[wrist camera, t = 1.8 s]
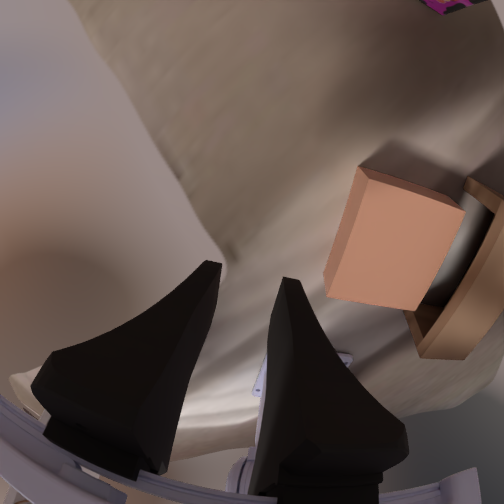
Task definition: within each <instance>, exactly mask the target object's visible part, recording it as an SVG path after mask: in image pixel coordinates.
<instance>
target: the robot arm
mask: <svg viewBox="0 0 504 504" xmlns="http://www.w3.org/2000/svg"><path fill="white" fill-rule="evenodd" d="M221 269H222V263H217V262H213V261H208V260H206V261H204V262H203V263H202V264H201V265H200V266H199V267H198V268H197V269H196V270H195V271H194V272H193V273H192V274H191V275H190V276H189V277H188V278H187V279H185V280H184V281H183V282H182V283H181V284H180V285H179V286H177V287H176V288H175V289H174V290H173V291H172V292H170V293H169V294H168V295H166V296H165V297H164V298H163V299H161V300H160V301H159V302H157V303H156V304H155V305H153V306H152V307H150V308H149V309H147V310H146V311H145V312H143V313H142V314H140V315H138V316H137V317H135V318H133V319H132V320H130V321H128V322H126V323H124V324H123V325H121V326H119V327H117V328H115V329H113V330H111V331H109V332H107V333H104V334H102V335H100V336H98V337H95V338H93V339H91V340H88V341H86V342H83V343H80V344H77V345H74V346H70V347H67V348H64V349H61V350H57V351H53V352H52V353H51V355H50V356H49V357H48V358H47V360H46V361H45V363H44V364H43V366H42V367H41V369H40V371H39V372H38V374H37V376H36V377H35V379H34V381H33V382H32V384H31V390H32V393H33V394H34V396H35V397H36V399H37V400H38V401H39V402H40V404H41V405H42V406H43V407H44V408H45V409H46V411H47V412H48V413H49V414H50V415H51V418H50V420H49V422H48V424H47V426H46V425H44V424H43V423H41V422H40V421H38V420H36V419H35V418H33V417H32V416H30V415H29V414H27V413H26V412H24V411H23V410H21V409H20V408H18V407H17V406H16V405H14V404H13V403H11V402H10V401H8V400H7V399H6V398H5V397H3V396H2V395H1V394H0V476H1V477H2V478H3V479H4V480H5V481H6V482H7V483H8V484H9V485H11V486H12V487H13V488H14V489H15V490H16V491H17V492H19V493H20V494H21V495H22V496H24V497H25V498H26V499H27V500H29V501H30V502H31V503H32V504H125V502H126V499H127V494H125V493H123V492H121V491H119V490H117V489H115V488H114V487H112V486H111V485H110V484H108V483H105V482H104V481H101V480H99V479H97V478H95V477H93V476H91V475H89V474H88V473H86V472H84V471H82V468H81V466H82V467H84V468H86V469H89V470H91V471H93V472H95V473H97V474H99V475H102V476H104V477H106V478H108V479H111V480H113V481H116V482H118V483H121V484H123V485H126V486H128V487H131V488H134V489H136V490H139V491H142V492H145V493H148V494H151V495H154V496H158V497H161V498H165V499H168V500H171V501H175V502H179V503H183V504H481V495H480V487H479V481H478V475H477V469H476V467H474V468H471V469H468V470H465V471H462V472H459V473H456V474H454V475H451V476H449V477H447V478H445V479H443V480H441V481H440V482H437V483H433V484H429V485H425V486H421V487H417V488H412V489H407V490H402V491H396V492H390V493H383V494H379V489H378V484H379V483H382V481H383V472H384V471H386V470H387V469H389V468H391V467H393V466H395V465H397V464H399V463H400V462H401V461H403V460H404V459H405V458H406V457H407V456H408V454H409V446H408V439H407V433H406V429H405V425H404V424H403V423H402V422H401V421H400V420H398V419H397V418H396V417H395V416H394V415H393V414H391V413H390V412H389V411H388V410H387V409H385V408H384V407H383V406H382V405H381V404H380V403H379V402H378V401H377V400H376V399H375V398H374V397H373V396H372V395H371V394H370V393H369V392H368V391H367V390H366V389H365V388H364V387H363V386H362V385H361V383H360V382H359V381H358V380H357V379H356V377H355V376H354V375H353V374H352V373H351V372H350V370H349V369H348V366H349V365H350V364H351V362H352V361H353V356H352V355H350V354H343V353H336V351H335V349H334V348H333V346H332V345H331V343H330V341H329V340H328V338H327V336H326V335H325V333H324V331H323V329H322V327H321V326H320V324H319V322H318V320H317V318H316V316H315V314H314V312H313V310H312V307H311V305H310V303H309V301H308V299H307V296H306V294H305V292H304V289H303V287H302V284H301V282H300V281H299V280H297V279H292V278H287V277H283V279H282V282H281V285H280V288H279V292H278V295H277V298H276V301H275V304H274V308H273V311H272V314H271V318H270V325H269V332H268V341H267V353H266V356H265V358H264V361H263V364H262V367H261V369H260V372H259V374H258V377H257V380H256V382H255V385H254V388H253V390H252V395H253V396H256V397H260V405H259V413H258V421H257V429H256V436H255V444H256V446H255V447H249V451H248V456H243V457H241V458H239V460H238V461H237V462H236V463H235V464H233V466H232V468H231V469H230V472H229V474H228V478H227V482H226V490H225V491H220V490H215V489H210V488H205V487H200V486H196V485H192V484H187V483H183V482H180V481H175V480H172V479H168V478H165V477H162V476H160V475H162V474H164V473H166V472H167V470H168V465H169V460H170V455H171V451H172V446H173V442H174V438H175V434H176V429H177V425H178V421H179V417H180V413H181V409H182V406H183V402H184V398H185V394H186V391H187V387H188V383H189V380H190V377H191V374H192V372H193V369H194V367H195V364H196V362H197V359H198V357H199V354H200V352H201V349H202V347H203V344H204V342H205V339H206V337H207V334H208V332H209V329H210V326H211V323H212V319H213V316H214V312H215V308H216V304H217V298H218V290H219V283H220V276H221Z"/></svg>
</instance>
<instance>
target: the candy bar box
mask: <svg viewBox="0 0 504 504" xmlns="http://www.w3.org/2000/svg"><path fill="white" fill-rule="evenodd" d="M419 1H421V2H423V3H424V4H426V5H428V6H429V7H431V8H432V9H434V10H435V11H437V12H438V13H440V14H441V15H446V14H448V13H451V12H454V11H457V10H460V9H462V8H465V7H468V6H471V5H474V4H477V3H480V2H483V1H487V0H419Z"/></svg>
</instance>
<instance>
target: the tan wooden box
mask: <svg viewBox="0 0 504 504" xmlns="http://www.w3.org/2000/svg"><path fill="white" fill-rule="evenodd" d="M463 189H464V190H465V191H466V192H468V193H469V194H470V195H472V196H473V197H474V198H476V199H477V200H478V201H480V202H481V203H482V204H483V205H485V206H486V207H487V208H488V209H490V210H491V211H492V212H493V213H494V216H493V219H492V221H491V223H490V225H489V228H488V230H487V232H486V234H485V236H484V238H483V240H482V242H481V244H480V246H479V248H478V250H477V252H476V254H475V256H474V258H473V260H472V262H471V263H470V265H469V267H468V269H467V271H466V272H465V274H464V276H463V278H462V279H461V281H460V283H459V284H458V286H457V288H456V289H455V291H454V293H453V294H452V296H451V297H450V299H449V300H448V302H447V304H446V305H445V307H444V308H443V307H438V306H432V305H427V304H421V303H420V304H419V306H418V307H417V309H416V310H415V311H410V310H403V312H404V315H405V317H406V320H407V323H408V325H409V328H410V331H411V334H412V336H413V339H414V342H415V345H416V348H417V351H418V354H419V357H420V358H426V359H445V360H464V359H465V358H466V357H467V356H468V355H469V354H470V352H471V351H472V350H473V349H474V348H475V347H476V345H477V344H478V343H479V342H480V340H481V339H482V338H483V337H484V335H485V334H486V333H487V331H488V330H489V329H490V327H491V326H492V325H493V323H494V322H495V321H496V319H497V318H498V317H499V315H500V314H501V312H502V311H503V309H504V196H503V195H501V194H500V193H498V192H496V191H494V190H493V189H491V188H489V187H487V186H485V185H484V184H482V183H480V182H478V181H476V180H474V179H472V178H471V177H469V176H467V179H466V182H465V185H464V187H463Z"/></svg>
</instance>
